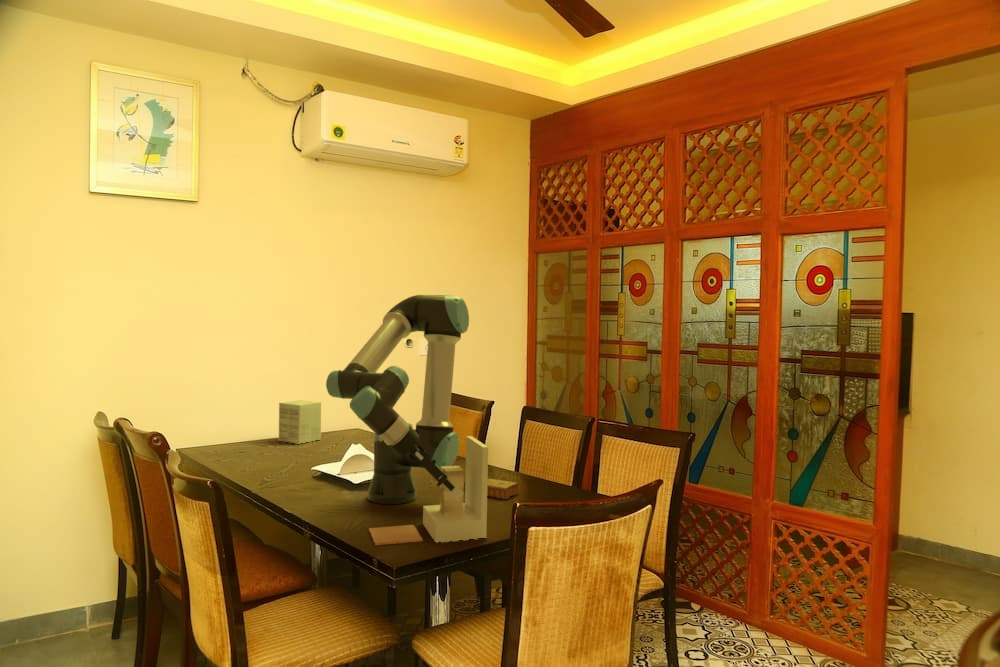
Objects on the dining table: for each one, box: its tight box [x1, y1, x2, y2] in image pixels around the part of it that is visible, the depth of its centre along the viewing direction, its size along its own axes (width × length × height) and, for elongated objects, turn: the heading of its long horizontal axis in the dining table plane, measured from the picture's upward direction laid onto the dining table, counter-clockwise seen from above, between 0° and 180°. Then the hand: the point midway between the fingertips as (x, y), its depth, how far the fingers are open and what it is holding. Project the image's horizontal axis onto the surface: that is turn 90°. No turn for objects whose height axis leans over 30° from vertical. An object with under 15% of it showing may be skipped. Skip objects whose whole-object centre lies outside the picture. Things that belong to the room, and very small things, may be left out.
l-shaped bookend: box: [422, 435, 489, 544], centre depth 179 cm, size 16×14×24 cm
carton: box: [463, 477, 519, 499], centre depth 219 cm, size 8×16×4 cm, turn 60°
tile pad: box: [368, 524, 424, 546], centre depth 175 cm, size 12×12×1 cm
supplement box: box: [278, 399, 322, 445], centre depth 299 cm, size 13×13×18 cm
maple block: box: [439, 465, 465, 516], centre depth 179 cm, size 6×5×12 cm
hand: (454, 490), depth 179 cm, fingers open, 13 cm apart
